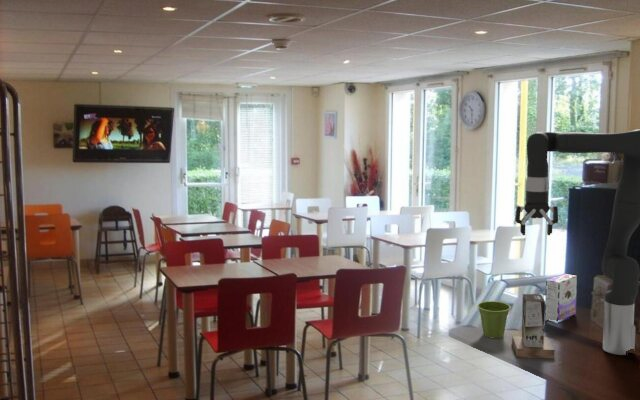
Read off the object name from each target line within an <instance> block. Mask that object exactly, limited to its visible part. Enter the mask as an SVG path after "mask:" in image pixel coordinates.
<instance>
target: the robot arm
mask: <svg viewBox="0 0 640 400" xmlns="http://www.w3.org/2000/svg"><path fill="white" fill-rule="evenodd" d="M526 141H527V142H526V155H527V168H526V169H527V170H526V181H525V182H526V183H525V205H515V214H514V216H515V218H514V221H515V222H516V224H520V227H519V229H520V233H521V235H522V236H526V223H527V222H528V221H529V220H530V219H542V218H544V220H545V221H546V222H547V226H546V227H547V228H546V235H547V236H551V234H553V225H554V224H558V222H559V207H558V206H557V205H555V204H554V205H549V189H550V184H549V163H548V154H549V153H548V152H552V153H553V152H558V153H563V154H590V153H591V154H594V153H609V154H610V153H611V154H612V153H613V154H620V155H621V154H622V155H623V158H622V159H623V160H622V161H623V162H622V169H621V174H620V177H619V180H618V183H617V187H616V191H615V195H614V202H613V209H612V215H611V220H610V221H611V222H610V227H609V228H610V229H609V233H608V238H607V241H606V242H607V243H606V245H605V249H604V254H603V257H602V262H601V271H602V273H603V275H604V276H605V278H608V279H609V280H611V281H612V287H611V290H607V291H605V293H604V305H603V306H604V308H603V311H604V313H603V332H602V333H603V334H602V335H603V337H602V349H603V351H604V352H607V353H609V354H612V355H618V356H626V351H628V350H630V349H634V350H635V348H636V347H635V346H636V345H635V344H636V326H635V324H634V321H635V301H636V297H637V296H638V294H639V293H638V292H639V284H640V266H639V263H638V261H637V260H636V259H634V258H633V257H631V256H628V255H627V253H628V247H629V242H630V239H631V237H632V235H633V234H634V232H635V230H637V228H638V227H639V225H640V128H639V129H637V128H636V129H634V130H630V131H625V132H624V131H623V132H616V133H597V132H595V133H594V132H579V131H578V132H574V131H573V132H571V131H570V132H569V131H568V132H554V131H553V132H549V131H536V132H534V133H532V134H530V136H529V137H528V138H527V140H526ZM523 211H525V215H524V216H523V217H522V219H521V213H522V212H523ZM549 211H551V213H552V219H551V218H550V217H549V216H548V212H549Z"/></svg>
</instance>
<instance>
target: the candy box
mask: <svg viewBox="0 0 640 400" xmlns="http://www.w3.org/2000/svg"><path fill="white" fill-rule="evenodd" d="M577 284H578V276H577V275H573V274H570V273H562V274H559V275H556V276H554V277H551V278H548V279H546V280H545V299H544V301H545V317H544V321H547V320H549V319H550V320H556V321H558V320H561V319H564V318H566V317H569V316H572V315H574V314H576V315H577V293H578V292H577V291H578V290H577V289H578V287H577V286H578V285H577Z"/></svg>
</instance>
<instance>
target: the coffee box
mask: <svg viewBox="0 0 640 400" xmlns="http://www.w3.org/2000/svg"><path fill="white" fill-rule="evenodd" d="M521 301H522V302H521V303H522V304H521V305H522V307H521V310H522V311H521V314H522V315H521V336H522V340H523V343H524V346H525V347H538V348H543V345H544V337H545V299H544V298H543V296H542V294H540V293H539V294H538V293H534V294H533V293H529V294H528V293H527V294H526V293H523V294H522V298H521Z"/></svg>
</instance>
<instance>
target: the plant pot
mask: <svg viewBox="0 0 640 400" xmlns="http://www.w3.org/2000/svg"><path fill="white" fill-rule="evenodd" d="M476 306H477V308H478V310H479V314H480V315H479V316H480V321H481V328H482V332H483V336H484V335H486V336H488V337H487V338H491V337H493V338H492V339H501V338H502V337H504V335H505V330H506V325H507V319H508V315H509V312H510V310H511V309H512V307H511V305H510V304H508V303H506V302H502V301H496V300H495V301H494V300H491V301H490V300H489V301H487V300H486V301H481V302H479V303H477V305H476ZM486 336H485V337H486Z"/></svg>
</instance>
